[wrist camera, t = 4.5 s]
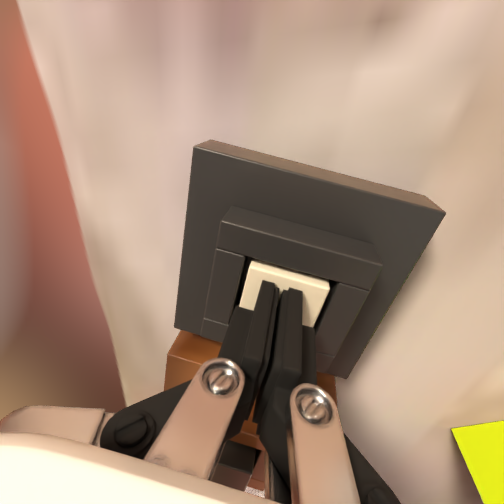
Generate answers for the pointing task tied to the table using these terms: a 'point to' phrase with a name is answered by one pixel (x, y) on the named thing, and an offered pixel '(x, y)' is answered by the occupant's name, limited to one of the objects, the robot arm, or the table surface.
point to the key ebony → (235, 466)
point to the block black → (297, 243)
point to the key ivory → (286, 287)
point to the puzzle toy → (484, 458)
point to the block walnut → (185, 368)
